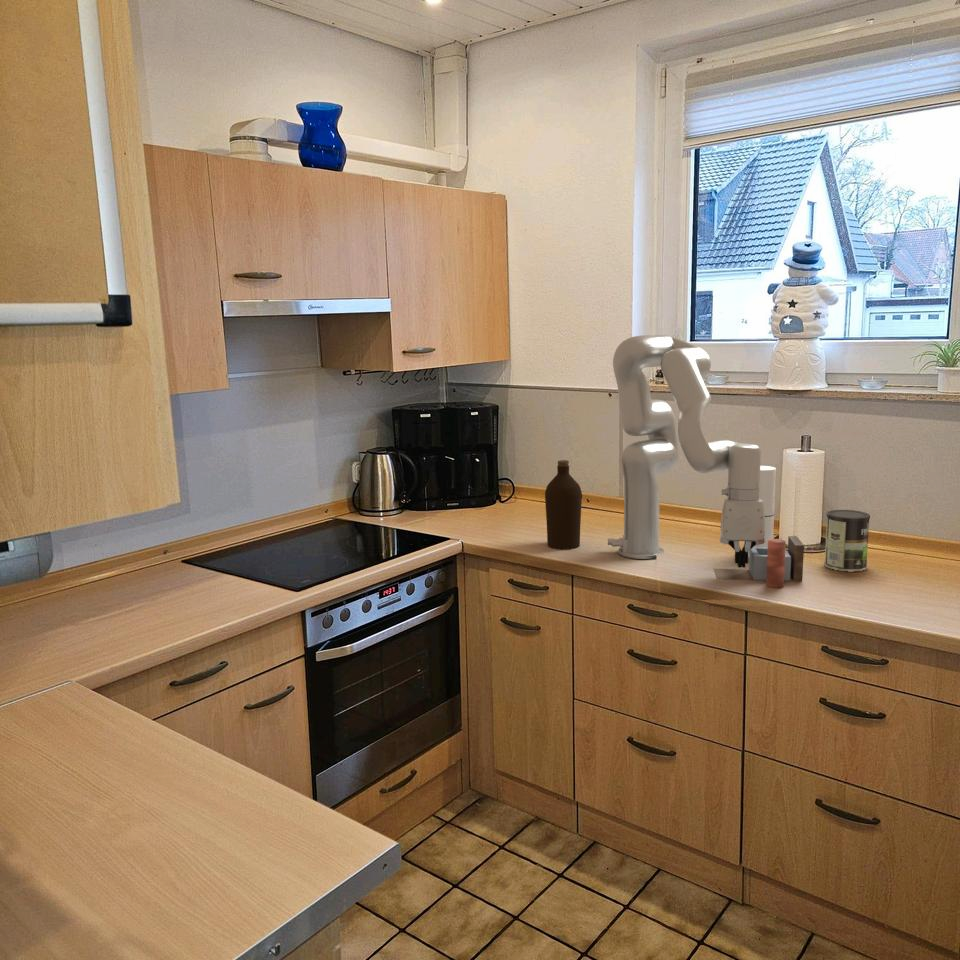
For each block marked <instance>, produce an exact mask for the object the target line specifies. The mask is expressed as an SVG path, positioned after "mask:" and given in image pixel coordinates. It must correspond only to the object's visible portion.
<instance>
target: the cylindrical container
mask: <svg viewBox="0 0 960 960" xmlns="http://www.w3.org/2000/svg"><path fill="white" fill-rule="evenodd" d="M776 474H777V468H776V467H775V466H770V465H760V492H759V499H761V500H762V501H763V506H764V518H765V535H764V540H765V543H764V544H759V545H755V546H754V547H768V540H770V539H774V525H775V523H774V521H775V519H774V518H775V500H776V499H775V497H776ZM749 552H750V551H749ZM749 552H748V559H749Z"/></svg>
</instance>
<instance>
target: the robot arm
mask: <svg viewBox="0 0 960 960" xmlns="http://www.w3.org/2000/svg"><path fill="white" fill-rule="evenodd" d="M711 365H712V363H711V358H710V356H709V354H708V353H707V352H706V351H705V350H704V349H703V348H701V347H699V346H697V345H695V344H692V343H689V342H688V341H684V340H682V339H680V338H677V337H674V336H673V335H672V336H671V335H667V334H654V335H649V334H648V335H647V334H645V335H636V336H632V337H628V338H626V339H624V340H623V341H621V342H620V344H619V345H618V346H617V347H616V350H615V352H614V354H613V359H612V367H613V368H612V369H613V373H614V376H615V377H614V378H615V381H616V385H617V391H618V393H617V394H618V401H619V402H618V403H619V409H620V418H621V425H622V428H623V430H624V433H626V434H627V436H630V437H644V436H647V437H648V439H645V440H641V441H640V440H639V441H634V442H632V443H630V444H628V445H626V447H625V448H624V449H623V450H622V452H621V455H620V465H621V470H622V475H623V476H622V477H623V491H624V492H623V500H624V501H623V505H624V506H623V514H624V515H623V535H622V537H618V538H610V537H609V538H607V545H608V546H611V547H613V548H614V547H618V549H617V552H618V554H619V555H620V556H622V557H624V558H629V559H638V560H650V559H651V560H652V559H657V556H659V555H662V554H663V553H664V552H665V549H664V548H663V547H661V546H659V538H660V537H659V535H660V534H659V533H660V488H659V485H658V482H657V479H656V477H655V474H661V473H665V472H668V471H671V470H672V469H674V468H675V467H676V465H677V464H678V461H679V458H680V457H679V456H680V455H679V454H680V450H679V449H680V447H681V450H682V452H683V455H684V456H685V458H686V461H687V462H688V464H689V466H691V469H693V470H694V471H696V472H697V473H699V474H708V473H709V474H710V473H714V472H719V471H724V470H725V471H726V470H727V487H726V488H723V489H722V488H721V492H720V493H721V495H723V496H726V498H724V501H723V506H722V512H721V519H720V520H721V521H720V533H721V534H720V536H719V543H721V544H725V545H728V546H730V547H731V548H732V550H734V563H735V564H736V565H737V567H738V568H739V569H740V568H741V569H742V568H743V569H745V568H746V565H747V564H748V565H749V558H748V552H749V551H750V550H751V549H752V548H753V547H754V546H755V545H759V544H764V543H765V540H764V535H765V518H764V506H763V501H762V500H761V499H759V492H760V466H761V465H762V464H761V460H762V450H761V447H760V446H759V445H757V444H754V443H740V442H737V441H733V440H729V439H719V440H711V441H707V439H706V436H705V434H704V430H703V429H702V423H701V421H702V420H701V419H702V415H703V413H704V411H705V409H706V408H707V407H708V406H709V405H710V404H711V402H712V397H711V394H710V393H709V389H708V387H707V385H706V384H705V382H704V379H703V378H704V377H707V375H708V374H709V373H710V370H711V367H712V366H711ZM657 367H660V370H661V372H662V374H663V377H664V379H665V381H666V384H667V386H668V388H669V390H670V393H671V395H672V397H673V400H674V402H675V404H676V406H677V409H678V411H679V416H678V417H679V418H678V422H677V424H678V425H676V417H675V413H674V411H673V409H672V407H671V405H670V404H669V403H668V402H666V401H665V400H661V399H652V396H651V389H650V384H649V381H648V377H646V375H645V373H644V372H643V371H642V370H643V369H644V368H657ZM679 445H680V447H679ZM740 542H744V543H743V546H742V547H740ZM738 568H737V569H738Z"/></svg>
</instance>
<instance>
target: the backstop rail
mask: <svg viewBox="0 0 960 960" xmlns="http://www.w3.org/2000/svg"><path fill="white" fill-rule="evenodd" d="M787 538H788V539H787V540H788V541H787V552H788V553H789V555H790V556H791V570H790V581H789V582H798V583H799V582H801V583H802V582H803V575H804V572H803V571H804V556H805V555H804V554H805V553H804V552H805V545H804V544H803V542H802V541H801V540H800V538H799V537H798V536H797V535H788V536H787ZM713 571H714V574H715V577H716V580H725V581H726V580H730V581H731V580H733V581H755V580H754V579H753V577H752V575H751V573H750V571H749V569H747V568H746V569H745V568H743V569H742V568H741V569H740V568H739V569H738V568H737V569H736V568H733V569H732V568H713ZM762 581H766V580H761V582H762Z"/></svg>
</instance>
